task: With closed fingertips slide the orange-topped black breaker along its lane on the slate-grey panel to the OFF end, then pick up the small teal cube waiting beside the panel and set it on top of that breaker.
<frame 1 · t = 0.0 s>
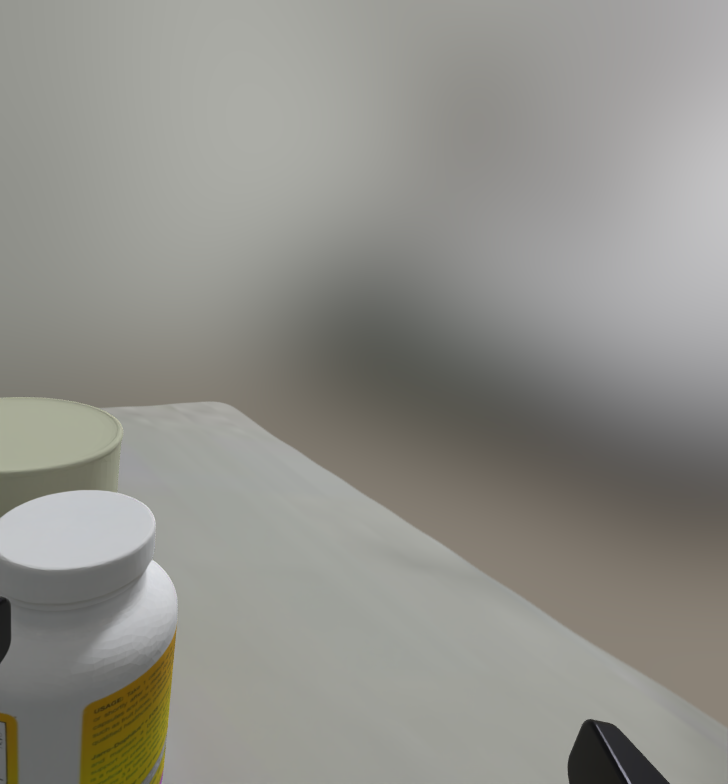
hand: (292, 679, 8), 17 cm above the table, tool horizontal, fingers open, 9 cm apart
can: (20, 624, 27), on the table
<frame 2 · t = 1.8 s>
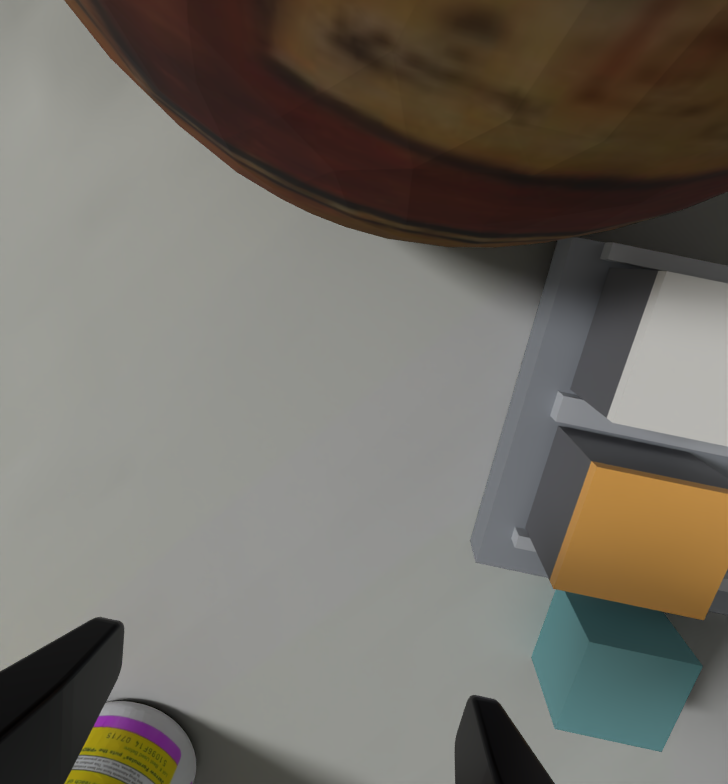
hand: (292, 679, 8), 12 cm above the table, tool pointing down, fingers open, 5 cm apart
supplement bottle: (137, 743, 25), on the table
breaker panel: (681, 437, 19), on the table
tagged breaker: (625, 516, 16), point 4 cm above the table, slide at 0.0 cm
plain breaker: (688, 354, 14), point 4 cm above the table, slide at 0.0 cm
teal cube: (590, 627, 21), on the table
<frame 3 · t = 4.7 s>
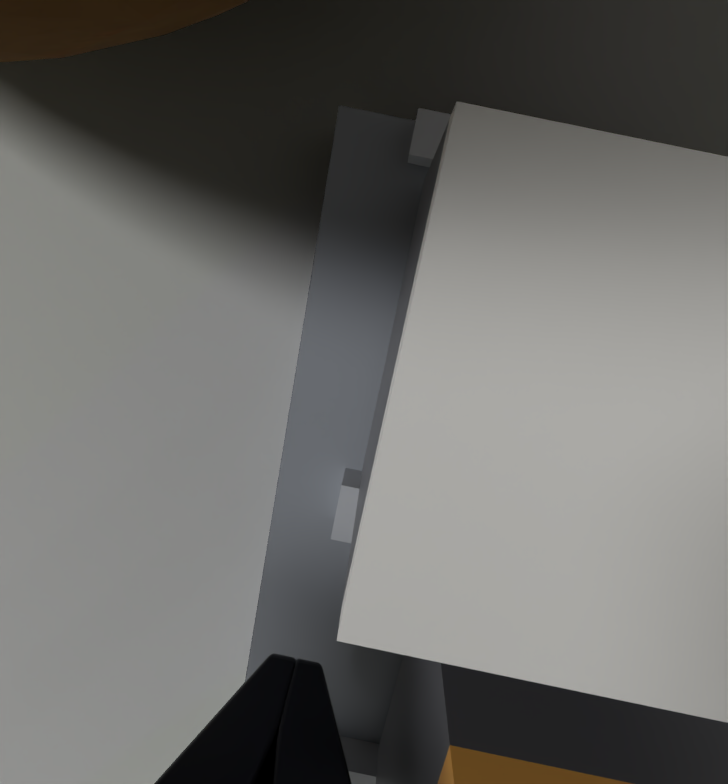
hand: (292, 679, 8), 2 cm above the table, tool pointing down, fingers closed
breaker panel: (627, 545, 9), on the table
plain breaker: (603, 406, 5), point 3 cm above the table, slide at 0.0 cm
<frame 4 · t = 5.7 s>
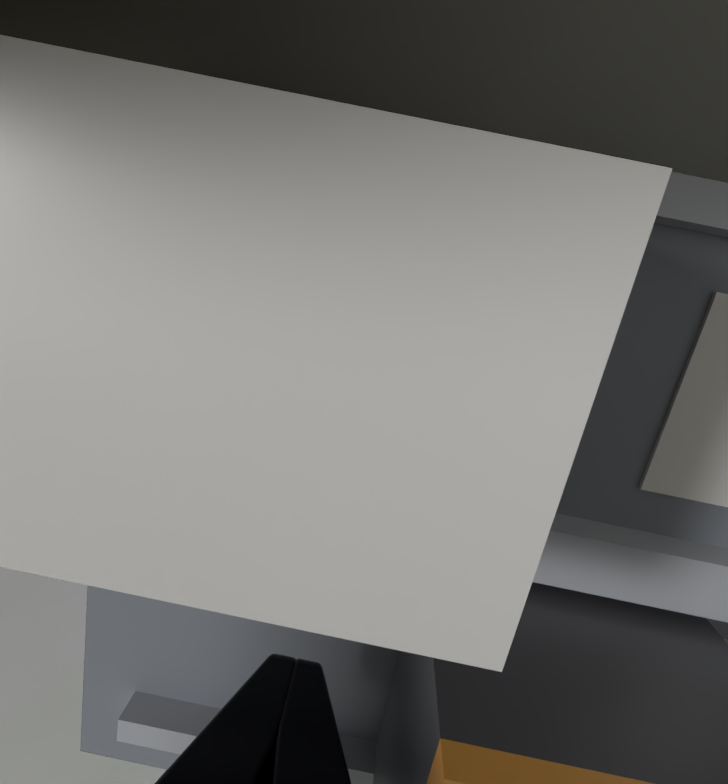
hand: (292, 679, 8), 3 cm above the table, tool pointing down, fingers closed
breaker panel: (467, 514, 10), on the table
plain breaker: (312, 352, 5), point 4 cm above the table, slide at 0.0 cm
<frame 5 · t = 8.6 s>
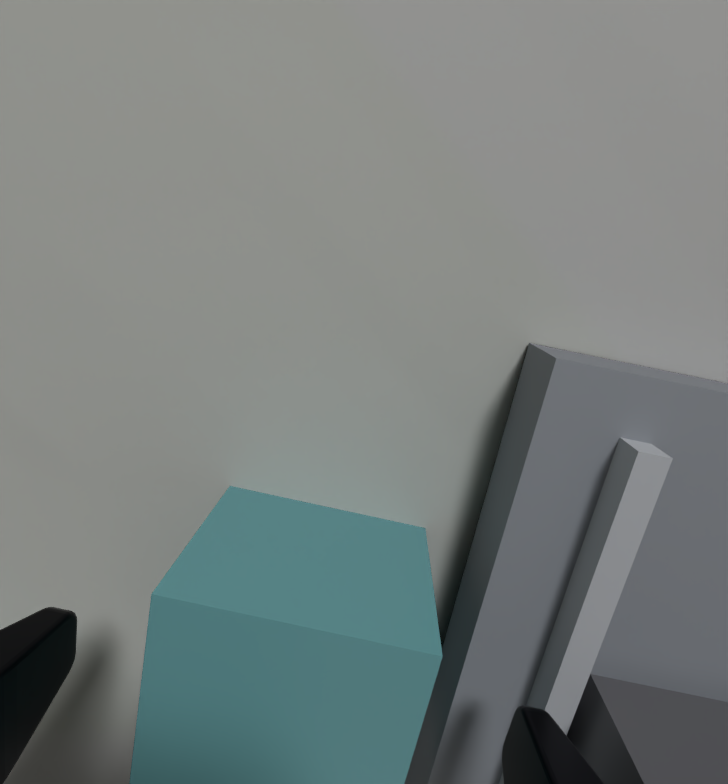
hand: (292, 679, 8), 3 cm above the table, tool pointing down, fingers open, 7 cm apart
breaker panel: (721, 698, 11), on the table
teal cube: (310, 588, 11), on the table
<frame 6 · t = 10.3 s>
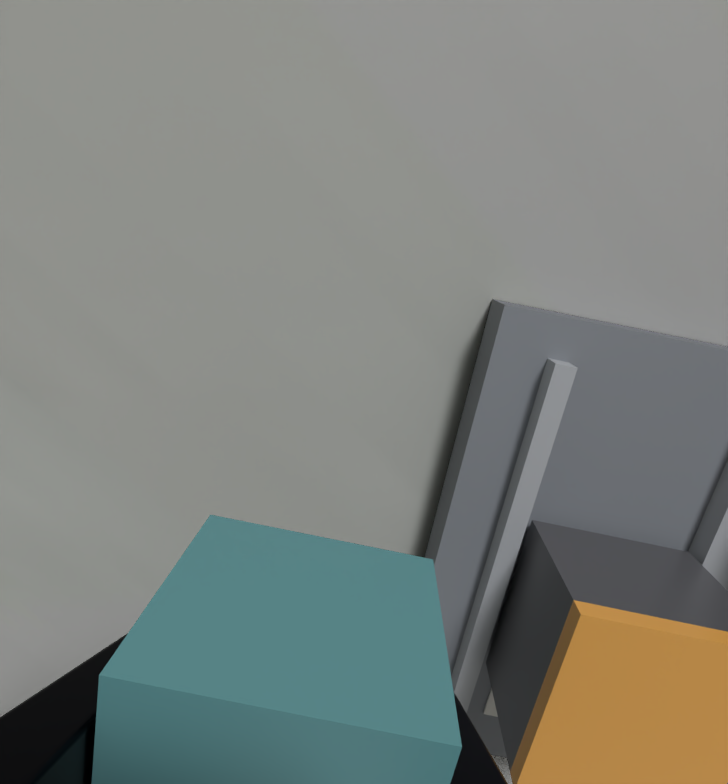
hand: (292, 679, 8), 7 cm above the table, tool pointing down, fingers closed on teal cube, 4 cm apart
breaker panel: (635, 560, 15), on the table
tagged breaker: (609, 660, 11), point 4 cm above the table, slide at 3.8 cm
teal cube: (303, 630, 9), point 6 cm above the table, touching gripper
when the fingers open (7 cm above the table, at t = 12.0 s): teal cube stays where it is, resting on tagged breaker.
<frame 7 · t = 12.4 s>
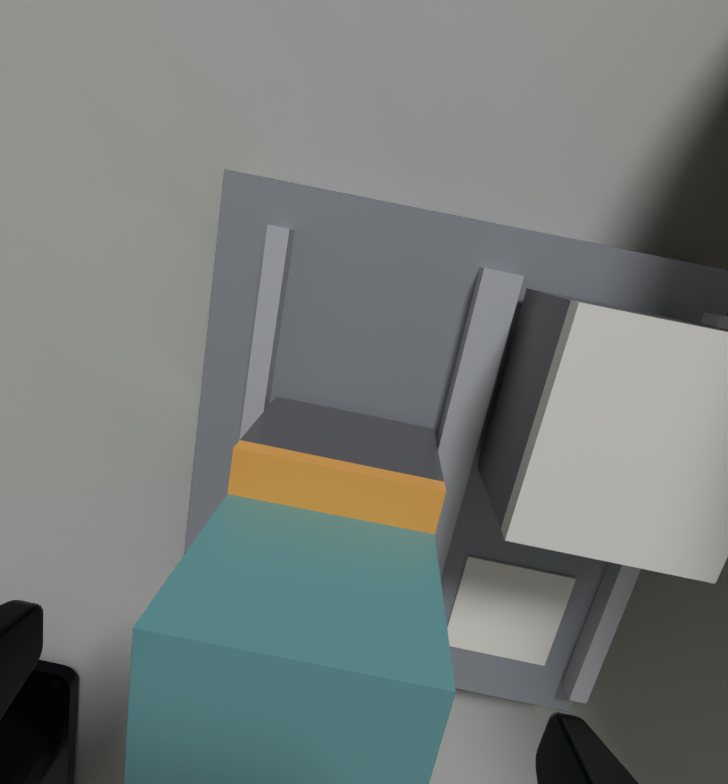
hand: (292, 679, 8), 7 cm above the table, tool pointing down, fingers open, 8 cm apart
breaker panel: (417, 454, 15), on the table
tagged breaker: (330, 526, 11), point 3 cm above the table, slide at 3.8 cm, touching teal cube
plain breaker: (611, 421, 10), point 3 cm above the table, slide at 0.0 cm
teal cube: (314, 601, 10), point 5 cm above the table, touching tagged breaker
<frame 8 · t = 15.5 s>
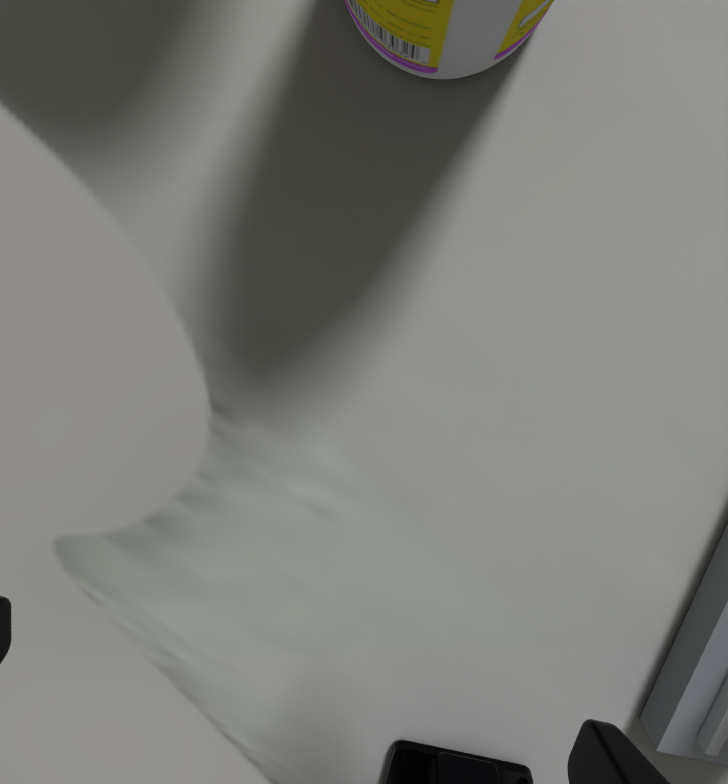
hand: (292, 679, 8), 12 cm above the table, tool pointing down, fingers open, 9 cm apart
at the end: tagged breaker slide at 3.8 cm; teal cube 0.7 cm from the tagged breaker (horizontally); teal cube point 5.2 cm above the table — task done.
